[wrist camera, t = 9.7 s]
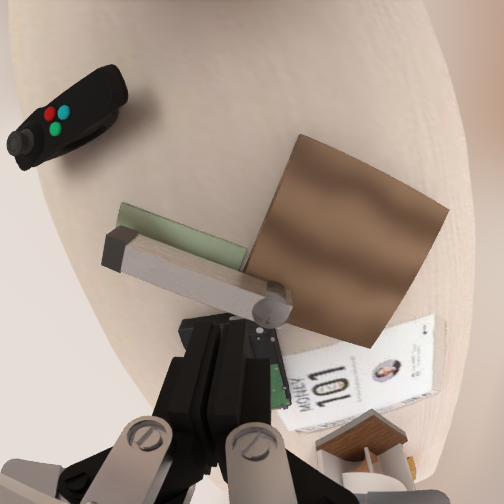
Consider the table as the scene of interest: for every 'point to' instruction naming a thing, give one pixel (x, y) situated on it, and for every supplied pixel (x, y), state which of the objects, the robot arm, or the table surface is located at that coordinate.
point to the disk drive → (253, 352)
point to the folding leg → (197, 278)
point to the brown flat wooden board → (325, 241)
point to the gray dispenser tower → (366, 456)
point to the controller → (70, 118)
